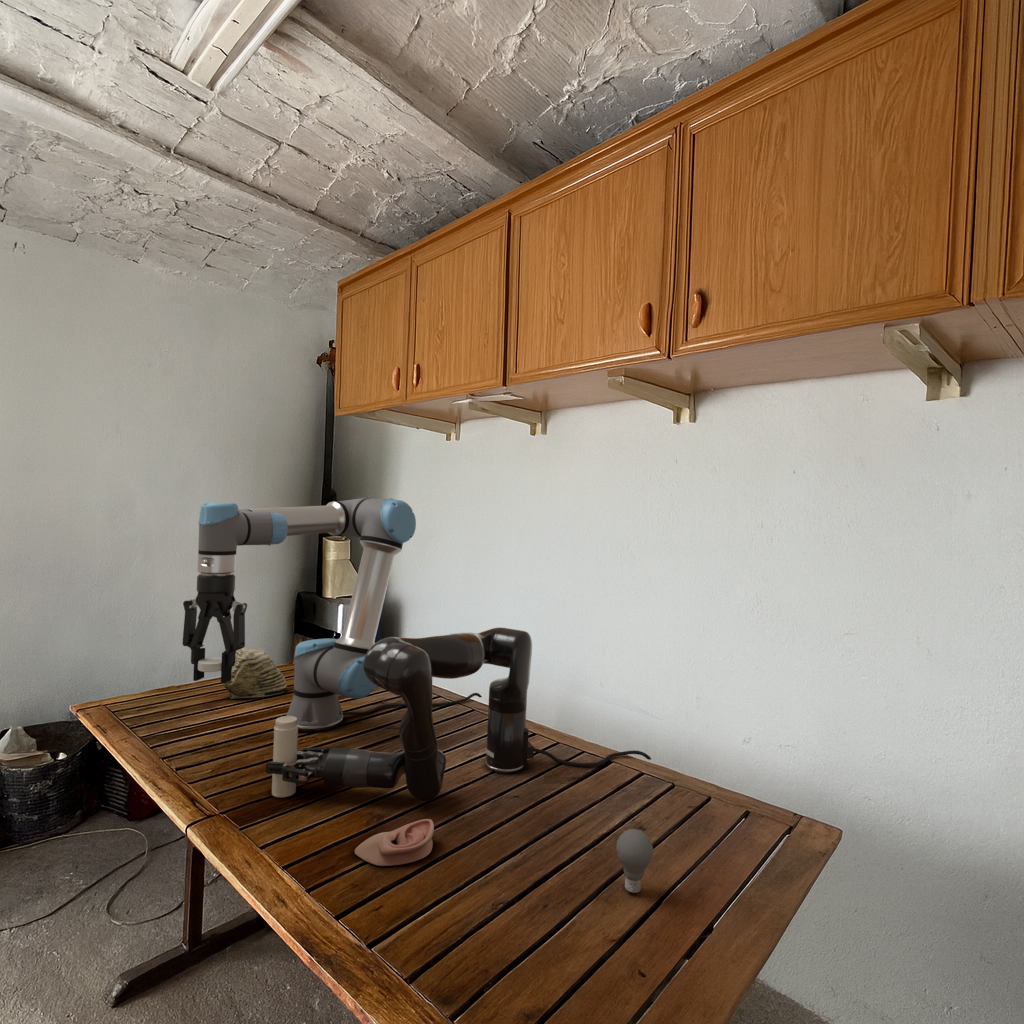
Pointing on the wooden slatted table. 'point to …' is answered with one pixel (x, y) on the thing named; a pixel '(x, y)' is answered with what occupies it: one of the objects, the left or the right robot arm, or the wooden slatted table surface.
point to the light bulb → (634, 857)
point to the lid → (210, 664)
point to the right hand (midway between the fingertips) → (272, 762)
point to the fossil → (254, 675)
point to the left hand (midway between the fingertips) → (212, 680)
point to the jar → (284, 753)
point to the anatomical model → (398, 844)
